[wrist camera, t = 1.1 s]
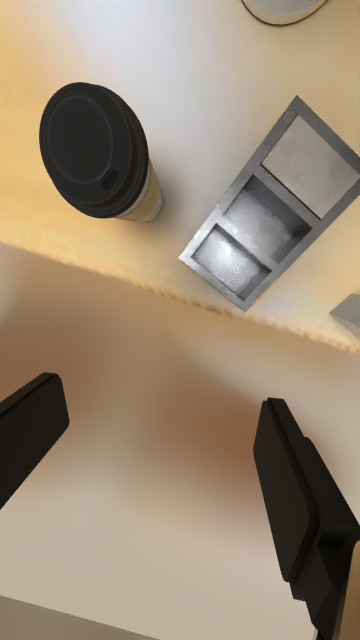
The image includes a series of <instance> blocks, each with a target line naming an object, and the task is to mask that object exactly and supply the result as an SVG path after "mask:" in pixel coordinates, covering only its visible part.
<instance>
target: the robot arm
mask: <svg viewBox="0 0 360 640" xmlns="http://www.w3.org/2000/svg"><path fill="white" fill-rule="evenodd" d="M243 1H244V3H245V5H246V6H247V7H248V9H249V10H250V11H251V12H252V13H253V14H254V15H255V16H256V17H258V18H259V19H261V20H262V21H265V22H268V23H271V24H288V23H292V22H296V21H298V20H300V19H302V18H304V17H307V16H308V15H309V14H311V13H312V12H314V11H315V10H316V9H318V8H319V7H320V6H321V5H322V4H323V3H324V2H325V1H326V0H243ZM68 425H69V416H68V411H67V406H66V400H65V395H64V390H63V385H62V380H61V378H60V377H59V375H58V374H55V373H46V372H45V373H42V374H40V375H39V376H37V377H36V378H35V379H33V380H32V381H30V382H29V383H28V384H26V385H25V386H23V387H22V388H20V389H19V390H17V391H16V392H15V393H13V394H12V395H10V396H9V397H7V398H6V399H4V400H3V401H2V402H0V509H1V508H2V507H3V506H4V505H5V503H6V502H7V501H8V500H9V498H10V497H11V496H12V495H13V494H14V492H15V491H16V490H17V489H18V488H19V486H20V485H21V484H22V483H23V481H24V480H25V479H26V478H27V477H28V475H29V474H30V473H31V472H32V471H33V469H34V468H35V467H36V466H37V464H38V463H39V462H40V461H41V459H42V458H43V457H44V456H45V455H46V453H47V452H48V451H49V450H50V449H51V447H52V446H53V445H54V444H55V443H56V441H57V440H58V439H59V437H60V436H61V435H62V434H63V433H64V431H65V430H66V429H67V428H68ZM253 453H254V459H255V463H256V468H257V472H258V476H259V480H260V485H261V489H262V493H263V498H264V502H265V506H266V510H267V515H268V519H269V523H270V528H271V532H272V536H273V540H274V545H275V549H276V553H277V558H278V562H279V566H280V570H281V574H282V577H283V579H284V581H286V582H289V583H290V587H291V591H292V595H293V599H297V600H301V601H305V602H306V605H307V608H308V611H309V615H310V619H311V622H312V624H313V625H314V627H315V631H314V635H313V640H360V525H359V523H358V522H357V520H356V518H355V516H354V514H353V513H352V511H351V509H350V508H349V506H348V504H347V502H346V500H345V499H344V497H343V495H342V493H341V492H340V490H339V488H338V487H337V485H336V483H335V481H334V479H333V478H332V476H331V474H330V472H329V471H328V469H327V467H326V465H325V463H324V462H323V460H322V458H321V456H320V455H319V453H318V451H317V450H316V448H315V446H314V444H313V443H312V442H311V440H310V439H309V438H308V437H304V436H303V434H302V432H301V430H300V428H299V426H298V424H297V423H296V421H295V419H294V417H293V415H292V413H291V412H290V410H289V408H288V406H287V404H286V402H285V401H284V400H283V399H278V398H268V399H267V401H263V402H262V407H261V413H260V417H259V422H258V427H257V433H256V437H255V442H254V447H253ZM0 640H159V639H155V638H151V637H148V636H144V635H141V634H137V633H134V632H130V631H127V630H123V629H120V628H116V627H113V626H109V625H106V624H102V623H98V622H95V621H91V620H88V619H84V618H80V617H76V616H73V615H70V614H66V613H62V612H58V611H55V610H51V609H48V608H44V607H41V606H37V605H33V604H30V603H26V602H22V601H19V600H15V599H11V598H7V597H4V596H0Z"/></svg>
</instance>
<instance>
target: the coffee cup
mask: <svg viewBox="0 0 360 640" xmlns="http://www.w3.org/2000/svg"><path fill="white" fill-rule="evenodd" d="M39 143H40V151H41V155H42V159H43V162H44V165H45V168H46V170H47V172H48V174H49V176H50V178H51V179H52V181H53V183H54V185H55V187H56V188H57V190H58V191H59V193H60V194H61V195H62V197H63V198H64V199H65V200H66V201H67V202H68V203H69V204H71V205H72V206H73V207H75V208H76V209H77V210H79V211H80V212H82V213H84V214H86V215H88V216H91V217H95V218H117V219H123V220H128V221H141V222H148V221H150V220H152V219H154V218H155V217H156V216H157V214H158V213H159V211H160V210H161V207H162V201H163V200H162V194H161V191H160V188H159V184H158V180H157V177H156V174H155V172H154V169H153V167H152V164H151V161H150V159H149V154H148V146H147V141H146V137H145V134H144V130H143V128H142V126H141V123H140V121H139V120H138V118H137V116H136V115H135V113H134V112H133V110H132V109H131V108H130V107H129V106H128V105H127V104H126V102H125V101H124V100H123V99H122V98H121V97H120V96H118V95H117V94H116V93H114V92H113V91H111V90H110V89H107V88H105V87H103V86H99V85H94V84H89V83H84V82H76V83H71V84H68V85H66V86H64V87H62V88H61V89H59V90H58V91H57V92H56V93H55V94H54V95H53V96H52V97H51V98H50V100H49V101H48V103H47V105H46V107H45V109H44V112H43V115H42V118H41V123H40V130H39Z"/></svg>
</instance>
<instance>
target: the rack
mask: <svg viewBox="0 0 360 640" xmlns="http://www.w3.org/2000/svg"><path fill="white" fill-rule="evenodd" d="M359 195H360V157H359V156H358V155H357V154H356V153H355V152H354V151H353V150H352V149H351V148H350V147H349V146H348V145H347V144H346V143H345V142H344V141H343V140H342V139H341V138H340V137H339V136H338V135H337V134H336V133H335V132H334V131H333V130H332V129H331V128H330V127H329V126H328V125H327V124H326V123H325V122H324V121H323V120H322V119H321V118H320V117H319V116H318V115H317V114H315V113H314V112H313V111H312V110H311V109H310V108H309V107H308V106H307V105H306V104H305V103H304V102H303V101H302V100H301V99H300V98H299V97H298V96H297V95H296V97H295V98H294V99H293V101H292V102H291V103H290V105H289V106H288V108H287V109H286V110H285V112H284V113H283V115H282V116H281V117H280V119H279V120H278V121H277V123H276V124H275V126H274V127H273V128H272V130H271V131H270V132H269V134H268V135H267V137H266V138H265V139H264V141H263V142H262V143H261V145H260V146H259V148H258V149H257V150H256V152H255V153H254V154H253V156H252V157H251V159H250V160H249V161H248V163H247V164H246V165H245V167H244V168H243V170H242V171H241V172H240V174H239V175H238V176H237V178H236V179H235V181H234V182H233V183H232V185H231V186H230V187H229V189H228V190H227V192H226V193H225V194H224V196H223V197H222V198H221V200H220V201H219V203H218V204H217V205H216V207H215V208H214V209H213V211H212V212H211V214H210V215H209V216H208V218H207V219H206V220H205V222H204V223H203V225H202V226H201V227H200V229H199V230H198V232H197V233H196V234H195V236H194V237H193V238H192V240H191V241H190V243H189V244H188V245H187V247H186V248H185V249H184V251H183V252H182V254H181V255H180V256H179V259H180V260H182V261H183V262H184V263H185V264H187V265H188V266H189V267H190V268H191V269H193V270H194V271H195V272H196V273H198V274H199V275H200V276H201V277H202V278H204V279H205V280H206V281H207V282H208V283H210V284H211V285H212V286H213V287H215V288H216V289H217V290H218V291H219V292H221V293H222V294H223V295H224V296H225V297H227V298H228V299H229V300H230V301H232V302H233V303H234V304H235V305H236V306H238V307H239V308H240V309H241V310H243V311H244V312H246V311H247V310H248V309H249V308H250V307H251V306H252V305H254V303H255V302H256V301H257V300H258V299H259V298H260V297H261V296H262V295H263V294H264V293H265V292H266V291H267V290H268V289H269V288H270V287H271V286H272V285H273V284H274V283H275V282H276V281H277V279H278V278H279V277H280V276H281V275H282V274H283V273H284V272H285V271H286V270H287V269H288V268H289V267H290V266H291V264H292V263H293V262H294V261H295V260H296V259H297V258H298V257H299V256H300V255H301V254H302V253H303V252H304V251H305V250H306V249H307V248H308V247H309V246H310V245H311V244H312V243H313V242H314V241H315V240H316V239H317V238H318V237H319V236H320V235H321V234H322V233H323V232H324V231H325V230H326V229H327V228H328V226H329V225H330V224H331V223H332V222H333V221H334V220H335V219H336V218H337V217H338V216H339V215H340V214H341V213H342V212H343V211H344V210H345V209H346V208H347V207H348V206H349V205H350V204H351V203H352V202H353V201H354V200H355V199H356V198H357V197H358V196H359Z"/></svg>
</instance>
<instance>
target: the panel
mask: <svg viewBox="0 0 360 640" xmlns="http://www.w3.org/2000/svg"><path fill="white" fill-rule="evenodd" d="M330 314H331V315H332V316H333V317H334V318H336V319H337V320H338V321H339V322H340V323H341V324H343V325H344V326H345V327H346V328H347V329H348V330H349V331H351V332H352V333H353V334H354V335H355V336H356V337H358V338H359V339H360V296H358V295H354V294H351V295H349V296H348V297H347V298H346V299H345V300H344V301H342V302H341V303H340V304H339V305H338V306H337V307H335V308H334V309H333V310H332V311H331V312H330Z"/></svg>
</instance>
